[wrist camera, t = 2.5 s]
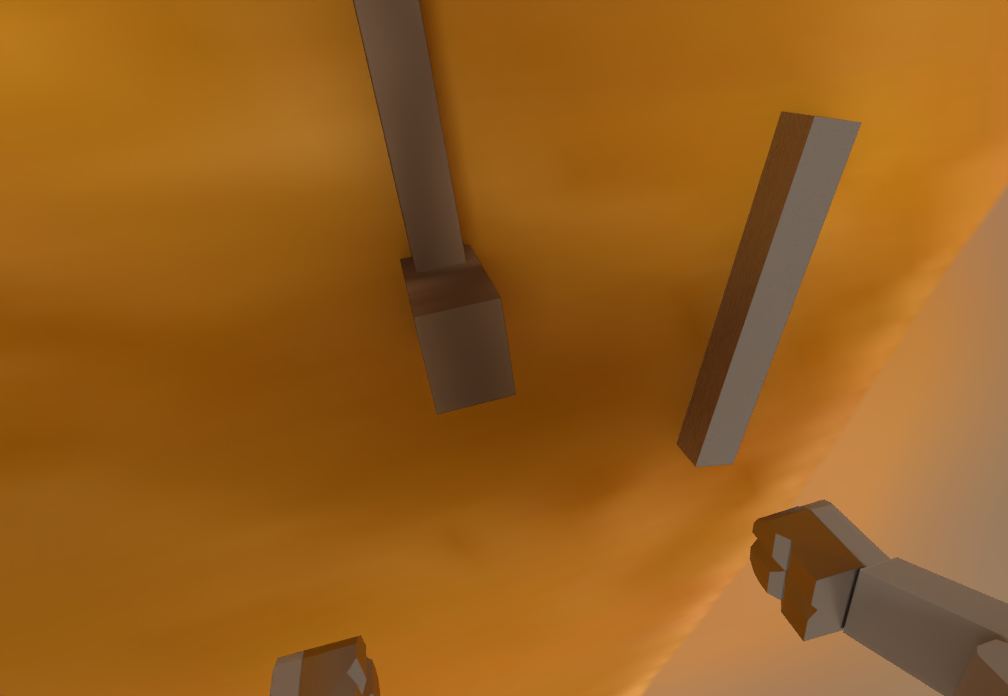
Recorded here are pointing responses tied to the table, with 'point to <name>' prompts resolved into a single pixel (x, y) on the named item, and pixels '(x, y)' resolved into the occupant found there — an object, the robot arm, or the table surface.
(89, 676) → the table surface
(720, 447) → the straight rod
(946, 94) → the table surface
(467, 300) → the hooked rake
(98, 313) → the table surface
